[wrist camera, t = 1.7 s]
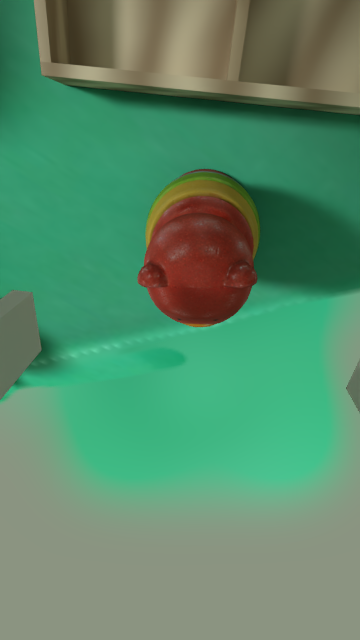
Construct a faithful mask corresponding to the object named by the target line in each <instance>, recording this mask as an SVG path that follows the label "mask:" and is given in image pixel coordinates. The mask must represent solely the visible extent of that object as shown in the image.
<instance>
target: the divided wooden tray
mask: <svg viewBox="0 0 360 640" xmlns="http://www.w3.org/2000/svg"><path fill="white" fill-rule="evenodd" d="M34 6H35V16H36V25H37V35H38V44H39V54H40V63H41V73H42V75H43V76H45V77H47V78H50V79H52V80H55V81H57V82H60V83H62V84H64V85H70V86H79V87H89V88H99V89H109V90H119V91H128V92H138V93H148V94H158V95H168V96H177V97H187V98H197V99H207V100H217V101H227V102H236V103H246V104H256V105H266V106H276V107H285V108H295V109H305V110H315V111H325V112H334V113H344V114H354V115H360V0H34Z"/></svg>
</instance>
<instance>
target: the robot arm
mask: <svg viewBox="0 0 360 640" xmlns="http://www.w3.org/2000/svg"><path fill="white" fill-rule="evenodd" d="M41 350H42V349H41V343H40V337H39V330H38V324H37V318H36V312H35V306H34V300H33V294H32V292H25V291H17V290H13V291H11V292H10V293H8V294H7V295H6V296H4V297H3V298H2V299H0V400H1V399H2V397H3V396H4V395H5V394H6V392H7V391H8V390H9V389H10V388H11V386H12V385H13V384H14V383H15V382H16V380H17V379H18V378H19V377H20V376H21V374H22V373H23V372H24V371H25V369H26V368H27V367H28V366H29V365H30V363H31V362H32V361H33V360H34V359H35V357H36V356H37V355H38V354H39V353H40V351H41ZM346 389H347V391H348V393H349V394H350V396H351V398H352V400H353V402H354V403H355V405H356V407H357V408H358V411H359V412H360V360H359V362H358V364H357V366H356V368H355V370H354V373H353V375H352V377H351V379H350V381H349V383H348V385H347V387H346Z"/></svg>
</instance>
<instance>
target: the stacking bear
mask: <svg viewBox="0 0 360 640" xmlns="http://www.w3.org/2000/svg"><path fill="white" fill-rule="evenodd" d="M259 240H260V221H259V216H258V212H257V209H256V206H255V204H254V202H253V200H252V198H251V197H250V196H249V194H248V193H247V192H246V190H245V189H244V188H243V187H242V186H241V185H240V184H239V183H237V182H236V181H235V180H233V179H232V178H231V177H229V176H228V175H226V174H224V173H222V172H220V171H216V170H211V169H199V170H194V171H191V172H188V173H186V174H184V175H182V176H181V177H179V178H177V179H175V180H174V181H172V182H171V183H170V184H168V185H167V186H166V187H165V188H164V189H163V190H162V191H161V192H160V194H159V195H158V196H157V198H156V199H155V201H154V203H153V205H152V207H151V209H150V212H149V215H148V219H147V224H146V246H147V251H146V254H145V260H144V267H142V269H141V270H140V272H139V274H138V283H139V284H140V285H141V286H144V287H147V289H148V292H149V294H150V297H151V299H152V300H153V302H154V303H155V305H156V306H157V307H158V308H159V309H160V310H161V311H162V312H163V313H164V314H165V315H167V316H168V317H170V318H172V319H173V320H175V321H177V322H180V323H183V324H186V325H189V326H193V327H207V326H211V325H214V324H217V323H220V322H223V321H225V320H227V319H228V318H230V317H231V316H233V315H234V314H236V313H237V312H238V311H239V309H240V308H241V307H242V306H243V305H244V303H245V302H246V300H247V299H248V296H249V294H250V291H251V288H252V286H253V285H254V284H256V282H257V274H256V271H255V270H254V263H253V259H254V257H255V255H256V252H257V249H258V245H259Z"/></svg>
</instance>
